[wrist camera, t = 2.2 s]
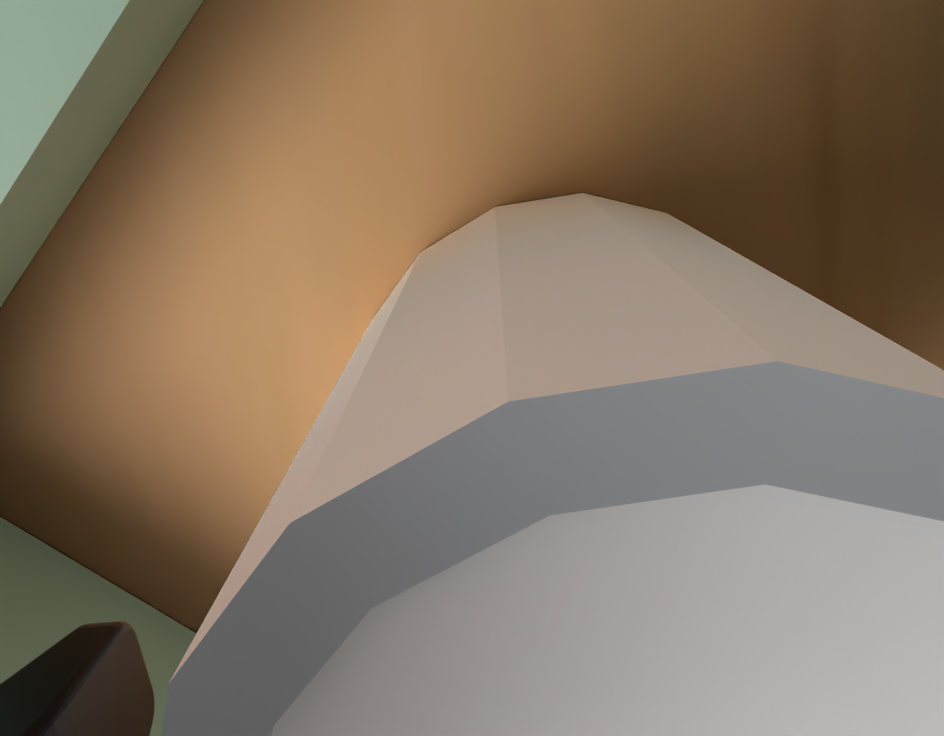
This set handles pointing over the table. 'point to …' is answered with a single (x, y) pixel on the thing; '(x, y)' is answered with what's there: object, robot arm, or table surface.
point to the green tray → (20, 237)
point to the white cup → (594, 508)
